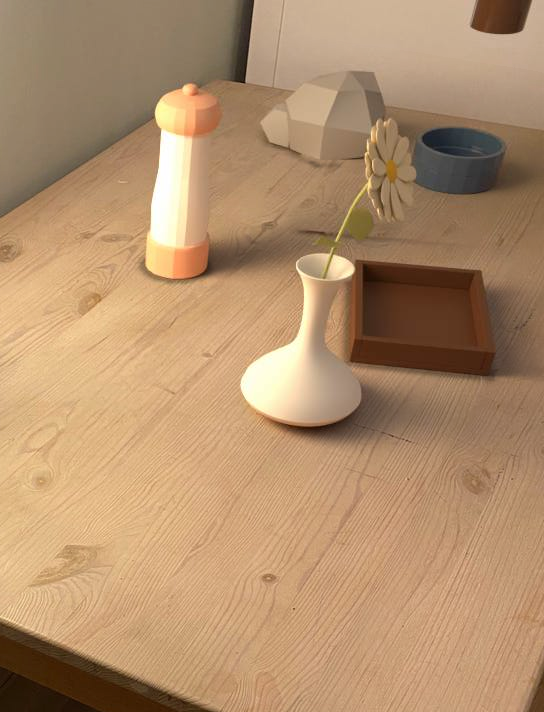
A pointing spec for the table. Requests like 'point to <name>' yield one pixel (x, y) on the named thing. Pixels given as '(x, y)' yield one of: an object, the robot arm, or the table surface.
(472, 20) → the bottle
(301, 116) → the rock
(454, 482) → the table surface
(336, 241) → the flower in vase
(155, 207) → the pepper shaker
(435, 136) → the bowl
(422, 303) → the tray
